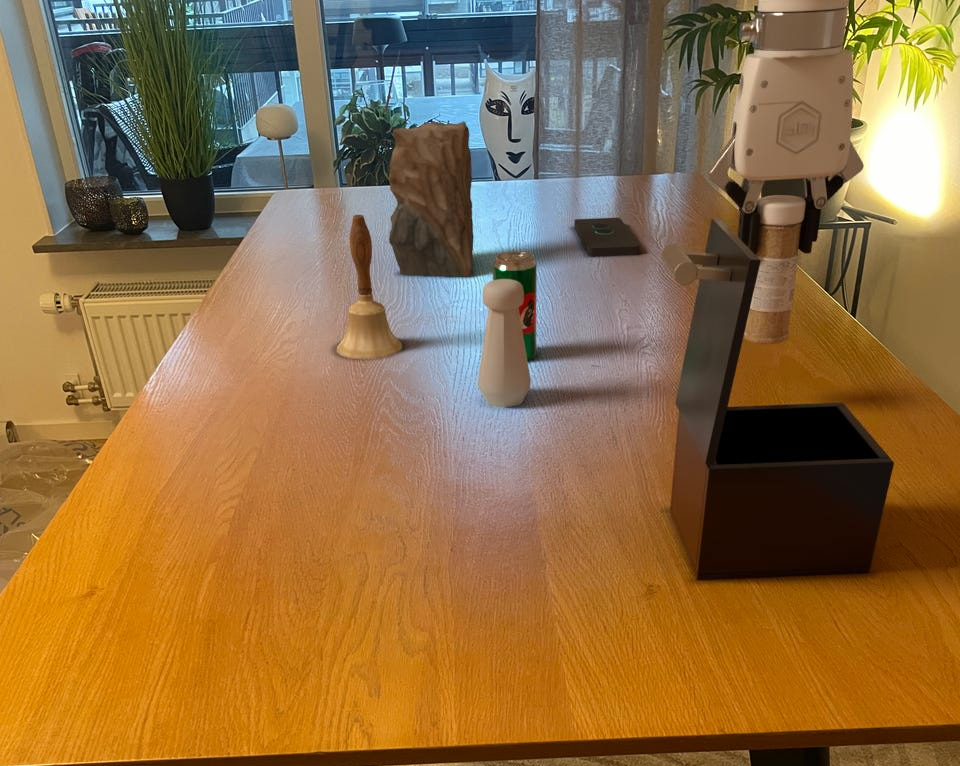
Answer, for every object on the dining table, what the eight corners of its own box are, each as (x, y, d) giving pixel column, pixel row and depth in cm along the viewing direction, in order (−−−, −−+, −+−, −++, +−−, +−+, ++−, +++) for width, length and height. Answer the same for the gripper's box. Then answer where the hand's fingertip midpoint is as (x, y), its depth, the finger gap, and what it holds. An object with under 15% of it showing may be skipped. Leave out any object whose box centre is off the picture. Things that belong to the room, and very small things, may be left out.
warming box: (823, 507, 88) (843, 402, 83) (868, 576, 79) (894, 462, 73) (669, 514, 88) (678, 408, 83) (696, 583, 79) (709, 469, 73)
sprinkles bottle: (753, 329, 105) (767, 192, 98) (795, 335, 103) (813, 195, 96) (735, 342, 102) (749, 201, 95) (778, 349, 100) (795, 205, 93)
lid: (720, 219, 74) (658, 214, 74) (761, 260, 65) (689, 255, 64) (683, 404, 82) (627, 400, 82) (714, 464, 73) (650, 461, 73)
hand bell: (416, 348, 126) (407, 213, 117) (365, 366, 121) (352, 227, 112) (373, 334, 131) (362, 204, 122) (323, 351, 126) (307, 216, 117)
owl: (389, 278, 152) (378, 132, 141) (411, 256, 162) (402, 118, 151) (471, 280, 150) (466, 132, 139) (487, 258, 160) (484, 118, 149)
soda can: (539, 352, 123) (540, 250, 117) (532, 366, 119) (532, 262, 113) (499, 350, 124) (497, 249, 118) (490, 364, 120) (488, 261, 114)
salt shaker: (484, 415, 108) (480, 292, 100) (473, 395, 112) (469, 276, 105) (536, 409, 109) (537, 287, 101) (524, 390, 113) (523, 272, 106)
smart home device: (620, 216, 174) (641, 245, 157) (620, 226, 175) (640, 256, 158) (572, 218, 173) (588, 247, 157) (572, 228, 174) (588, 258, 158)
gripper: (712, 44, 85) (696, 267, 95) (913, 31, 84) (875, 256, 95) (694, 37, 91) (681, 248, 101) (881, 26, 91) (849, 237, 101)
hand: (775, 249), depth 98 cm, fingers closed on sprinkles bottle, 4 cm apart
